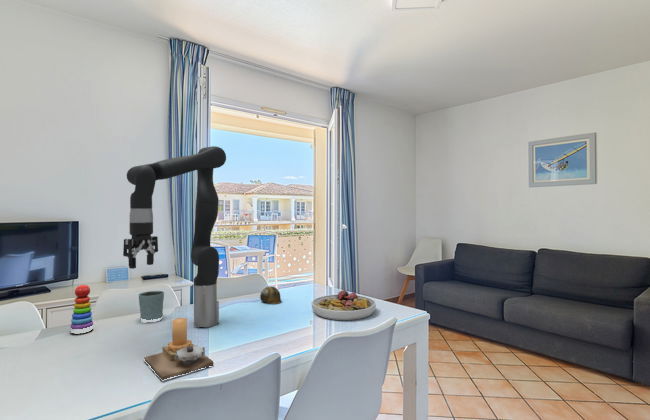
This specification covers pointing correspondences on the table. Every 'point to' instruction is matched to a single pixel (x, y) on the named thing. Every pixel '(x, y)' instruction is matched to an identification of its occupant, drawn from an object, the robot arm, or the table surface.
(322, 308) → the bowl
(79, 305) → the stacking toy
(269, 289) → the seashell
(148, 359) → the gear board
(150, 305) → the grey cup
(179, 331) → the orange gear spindle
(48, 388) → the table surface
